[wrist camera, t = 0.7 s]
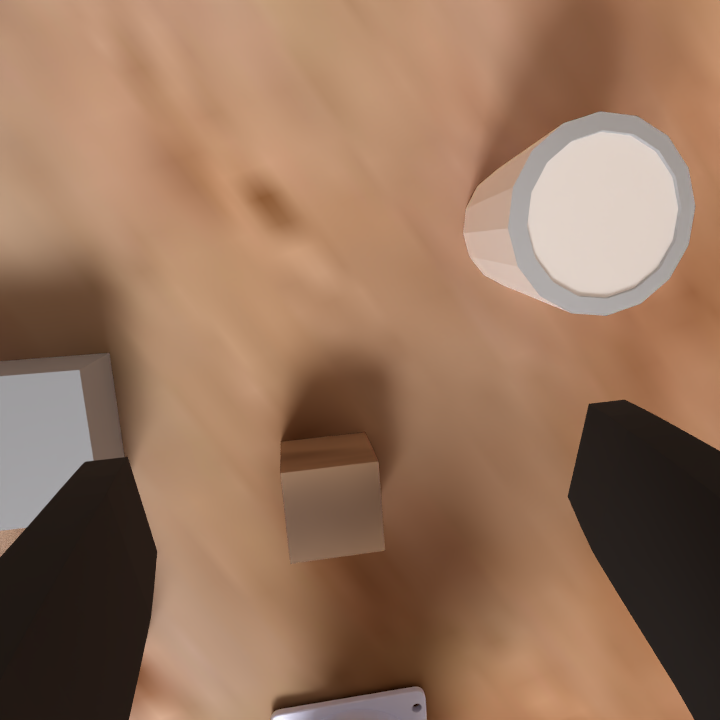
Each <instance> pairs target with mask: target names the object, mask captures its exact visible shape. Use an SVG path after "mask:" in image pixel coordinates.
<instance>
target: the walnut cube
mask: <svg viewBox="0 0 720 720" xmlns="http://www.w3.org/2000/svg"><path fill="white" fill-rule="evenodd" d="M280 474H281V484H282V493H283V502H284V511H285V520H286V529H287V538H288V547H289V557H290V564H293V563H300V562H307V561H314V560H322V559H329V558H336V557H343V556H350V555H357V554H365V553H372V552H379V551H385V542H384V529H383V515H382V501H381V488H380V474H379V461H378V459H377V457H376V455H375V452H374V450H373V448H372V446H371V444H370V442H369V439H368V437H367V435H366V433H365V432H361V433H352V434H344V435H335V436H326V437H318V438H309V439H300V440H292V441H283V442H281V464H280Z"/></svg>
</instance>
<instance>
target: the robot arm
mask: <svg viewBox="0 0 720 720" xmlns="http://www.w3.org/2000/svg"><path fill="white" fill-rule="evenodd" d="M568 498H569V500H570V502H571V505H572V507H573V509H574V512H575V514H576V516H577V519H578V521H579V523H580V526H581V528H582V530H583V532H584V534H585V536H586V538H587V541H588V543H589V545H590V547H591V549H592V551H593V553H594V555H595V557H596V558H597V560H598V562H599V563H600V565H601V567H602V568H603V570H604V572H605V573H606V575H607V576H608V578H609V580H610V581H611V583H612V585H613V586H614V588H615V590H616V591H617V593H618V595H619V596H620V598H621V599H622V601H623V603H624V604H625V606H626V607H627V609H628V611H629V612H630V614H631V616H632V617H633V619H634V620H635V622H636V624H637V625H638V627H639V628H640V630H641V632H642V633H643V635H644V636H645V638H646V640H647V641H648V643H649V644H650V646H651V648H652V649H653V651H654V653H655V654H656V656H657V657H658V659H659V661H660V662H661V664H662V665H663V667H664V669H665V670H666V672H667V673H668V675H669V677H670V678H671V680H672V681H673V683H674V685H675V686H676V688H677V690H678V692H679V693H680V695H681V697H682V699H683V700H684V702H685V704H686V706H687V707H688V709H689V711H690V713H691V714H692V716H693V718H694V720H720V451H719V450H717V449H715V448H713V447H711V446H710V445H708V444H706V443H704V442H703V441H701V440H699V439H697V438H695V437H694V436H692V435H690V434H688V433H687V432H685V431H683V430H681V429H679V428H678V427H676V426H674V425H672V424H670V423H669V422H667V421H665V420H663V419H661V418H659V417H658V416H656V415H654V414H652V413H650V412H648V411H646V410H644V409H642V408H640V407H638V406H636V405H634V404H632V403H630V402H628V401H626V400H618V401H610V402H601V403H592V404H589V406H588V410H587V415H586V419H585V423H584V428H583V432H582V437H581V441H580V445H579V450H578V454H577V458H576V463H575V467H574V472H573V476H572V480H571V485H570V489H569V494H568ZM156 558H157V549H156V546H155V543H154V540H153V537H152V533H151V530H150V527H149V524H148V521H147V517H146V514H145V511H144V508H143V505H142V501H141V498H140V495H139V492H138V489H137V485H136V482H135V479H134V476H133V473H132V469H131V466H130V463H129V460H128V457H121V458H113V459H104V460H95V461H87V462H84V463H83V464H82V465H81V466H80V467H79V469H78V470H77V471H76V472H75V473H74V474H73V475H72V476H71V477H70V479H69V480H68V481H67V482H66V483H65V484H64V485H63V486H62V488H61V489H60V490H59V491H58V492H57V493H56V494H55V496H54V497H53V498H52V499H51V500H50V501H49V503H48V504H47V505H46V506H45V507H44V508H43V509H42V511H41V512H40V513H39V514H38V515H37V516H36V518H35V519H34V520H33V521H32V522H31V523H30V524H29V526H28V527H27V528H26V529H25V530H24V531H23V532H22V534H21V535H20V536H19V537H18V538H17V539H16V540H15V542H14V543H13V544H12V545H11V546H10V547H9V548H8V549H7V550H6V551H5V553H4V554H3V555H2V556H1V557H0V720H129V716H130V712H131V707H132V703H133V698H134V694H135V689H136V685H137V680H138V676H139V671H140V666H141V662H142V657H143V652H144V648H145V643H146V638H147V633H148V629H149V624H150V619H151V611H152V602H153V592H154V582H155V570H156ZM415 704H419V705H418V706H416V707H413V705H415ZM271 720H427V713H426V697H425V694H424V691H423V689H422V688H420V687H409V688H403V689H397V690H391V691H385V692H379V693H373V694H367V695H361V696H355V697H349V698H343V699H337V700H331V701H325V702H319V703H314V704H308V705H302V706H296V707H290V708H284V709H279V710H276V711H274V712H273V713H272V715H271Z"/></svg>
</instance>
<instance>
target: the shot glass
mask: <svg viewBox="0 0 720 720" xmlns="http://www.w3.org/2000/svg"><path fill="white" fill-rule="evenodd" d="M694 211H695V202H694V196H693V191H692V185H691V179H690V174H689V168H688V167H687V165H686V163H685V162H684V160H683V159H682V157H681V156H680V154H679V152H678V151H677V149H676V148H675V146H674V145H673V143H672V141H671V140H670V138H669V137H668V136H667V135H666V134H664V133H663V132H661V131H659V130H658V129H656V128H655V127H653V126H652V125H650V124H649V123H647V122H646V121H644V120H643V119H641V118H639V117H638V116H633V115H625V114H617V113H609V112H601V111H600V112H597V113H594V114H590V115H587V116H584V117H581V118H578V119H575V120H572V121H569V122H566V123H563V124H561V125H560V126H559V127H557V128H556V129H554V130H553V131H551V132H550V133H548V134H547V135H546V136H544V137H543V138H541V139H540V140H538V141H537V142H536V143H534V144H533V145H531V146H530V147H528V148H527V149H525V150H524V151H523V152H521V153H520V154H518V155H517V156H515V157H514V158H512V159H511V160H510V161H508V162H507V163H505V164H504V165H502V166H501V167H500V168H498V169H497V170H495V171H494V172H493V173H492V174H491V175H490V176H488V177H487V178H486V179H485V180H484V181H483V182H482V183H480V184H479V185H478V186H477V188H476V190H475V192H474V194H473V195H472V197H471V199H470V201H469V203H468V205H467V207H466V211H465V220H464V229H463V235H464V238H465V242H466V246H467V249H468V253H469V257H470V258H471V259H472V261H473V262H474V263H475V264H476V266H477V267H478V268H479V270H480V271H481V272H482V273H483V275H485V276H487V277H488V278H490V279H492V280H494V281H496V282H498V283H500V284H501V285H503V286H506V287H508V288H511V289H513V290H515V291H518V292H520V293H523V294H525V295H528V296H530V297H533V298H535V299H538V300H540V301H542V302H545V303H547V304H550V305H552V306H555V307H557V308H560V309H562V310H565V311H567V312H569V313H575V314H589V315H603V316H607V315H610V314H613V313H616V312H618V311H621V310H624V309H627V308H630V307H633V306H636V305H638V304H641V303H642V302H643V301H644V300H646V299H647V298H648V297H649V296H650V295H651V294H653V293H654V292H655V291H656V290H657V289H658V288H660V287H661V286H662V285H663V284H664V283H665V282H667V281H668V280H669V279H670V277H671V275H672V273H673V272H674V270H675V268H676V266H677V265H678V263H679V261H680V259H681V258H682V256H683V254H684V252H685V250H686V249H687V247H688V245H689V240H690V234H691V228H692V222H693V217H694Z"/></svg>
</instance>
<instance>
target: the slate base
mask: <svg viewBox="0 0 720 720" xmlns="http://www.w3.org/2000/svg"><path fill="white" fill-rule="evenodd" d="M121 457H125V456H124V449H123V442H122V435H121V428H120V421H119V415H118V408H117V401H116V394H115V387H114V380H113V373H112V366H111V359H110V353H100V354H87V355H74V356H61V357H48V358H35V359H22V360H9V361H0V531H1V530H10V529H19V528H27V527H28V526H29V524H30V523H31V522H32V521H33V520H34V519H35V518H36V516H37V515H38V514H39V513H40V512H41V511H42V509H43V508H44V507H45V506H46V505H47V504H48V503H49V501H50V500H51V499H52V498H53V497H54V496H55V494H56V493H57V492H58V491H59V490H60V489H61V488H62V486H63V485H64V484H65V483H66V482H67V481H68V480H69V479H70V477H71V476H72V475H73V474H74V473H75V472H76V471H77V470H78V469H79V467H80V466H81V465H82V464H83V463H84V462H87V461H95V460H104V459H113V458H121Z"/></svg>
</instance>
